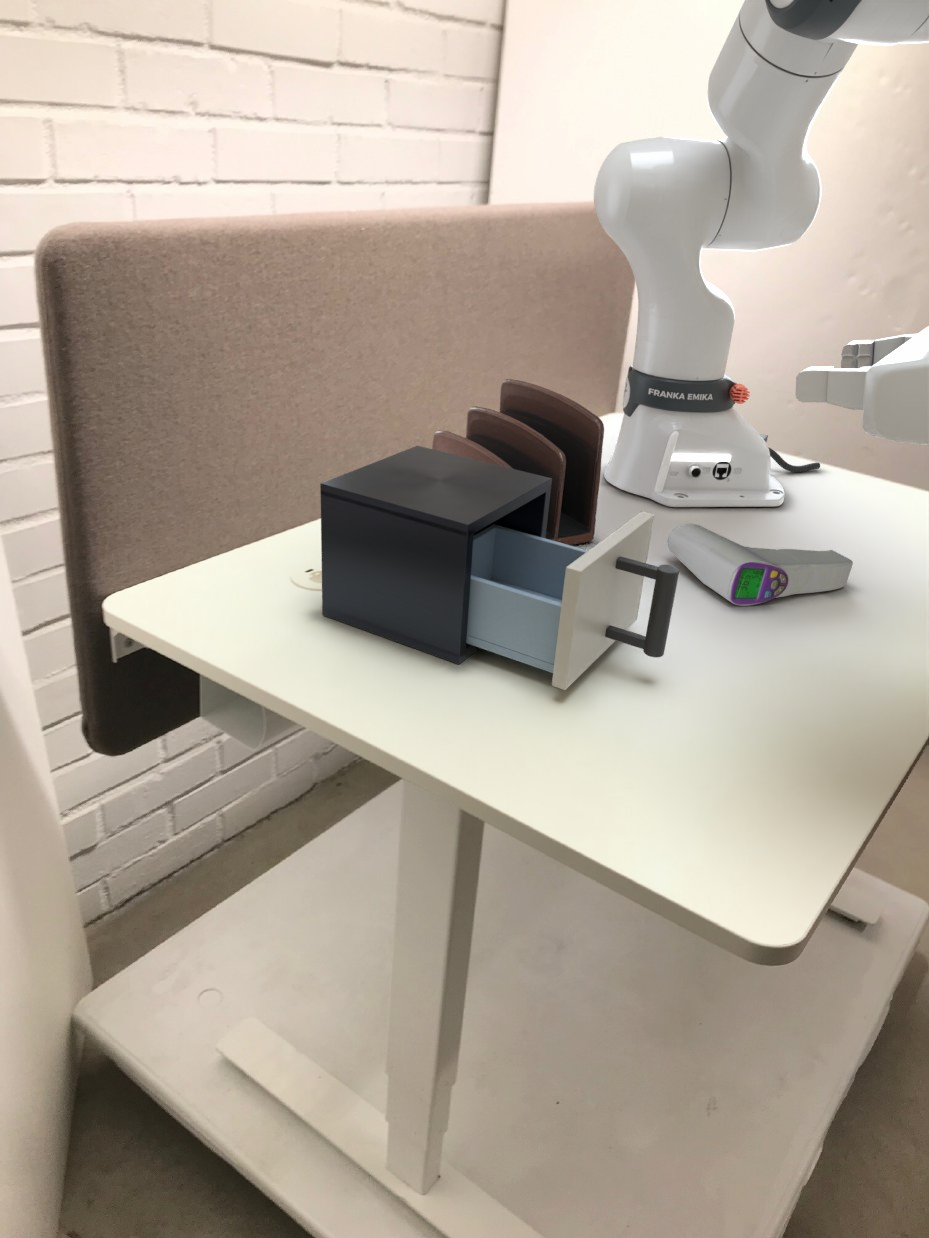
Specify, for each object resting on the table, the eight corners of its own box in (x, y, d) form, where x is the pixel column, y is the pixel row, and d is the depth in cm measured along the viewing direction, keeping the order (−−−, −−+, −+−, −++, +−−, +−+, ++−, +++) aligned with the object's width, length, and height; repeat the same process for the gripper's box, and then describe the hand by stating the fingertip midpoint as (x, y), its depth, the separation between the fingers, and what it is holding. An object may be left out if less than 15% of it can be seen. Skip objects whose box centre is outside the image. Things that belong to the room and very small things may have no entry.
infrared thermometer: (851, 599, 90) (732, 610, 84) (769, 552, 100) (657, 559, 93) (865, 557, 88) (745, 565, 82) (780, 513, 98) (667, 517, 91)
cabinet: (538, 603, 83) (552, 478, 77) (459, 664, 72) (468, 524, 67) (412, 563, 89) (417, 445, 84) (322, 615, 78) (320, 483, 73)
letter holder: (499, 484, 112) (508, 369, 105) (594, 543, 97) (612, 412, 90) (427, 493, 107) (432, 374, 101) (515, 556, 92) (528, 420, 86)
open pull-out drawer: (690, 636, 76) (711, 528, 72) (625, 712, 65) (645, 590, 61) (497, 577, 85) (505, 477, 80) (410, 635, 73) (414, 523, 69)
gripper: (1112, 282, 54) (869, 295, 62) (1084, 335, 40) (770, 343, 48) (1095, 388, 57) (863, 387, 65) (1062, 474, 42) (767, 460, 50)
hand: (823, 369), depth 56 cm, fingers open, 8 cm apart
